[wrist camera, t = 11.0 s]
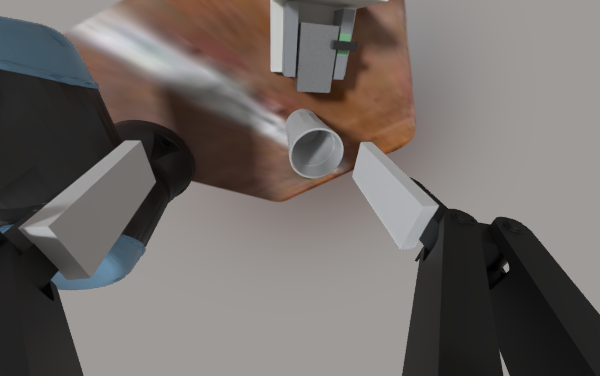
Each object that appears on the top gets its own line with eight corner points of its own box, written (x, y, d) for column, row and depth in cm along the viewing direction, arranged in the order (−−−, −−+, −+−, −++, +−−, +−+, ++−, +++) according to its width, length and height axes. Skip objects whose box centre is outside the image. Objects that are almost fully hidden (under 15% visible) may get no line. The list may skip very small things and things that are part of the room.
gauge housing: (270, 70, 34) (275, 81, 26) (270, -15, 28) (276, -36, 20) (341, 74, 36) (367, 87, 28) (355, -4, 31) (392, -18, 22)
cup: (326, 138, 43) (346, 169, 33) (288, 150, 43) (297, 184, 33) (318, 98, 38) (339, 120, 28) (275, 111, 38) (282, 138, 29)
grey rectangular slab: (293, 86, 34) (297, 92, 31) (296, 23, 30) (302, 21, 26) (337, 88, 36) (347, 94, 32) (347, 28, 31) (360, 28, 27)
